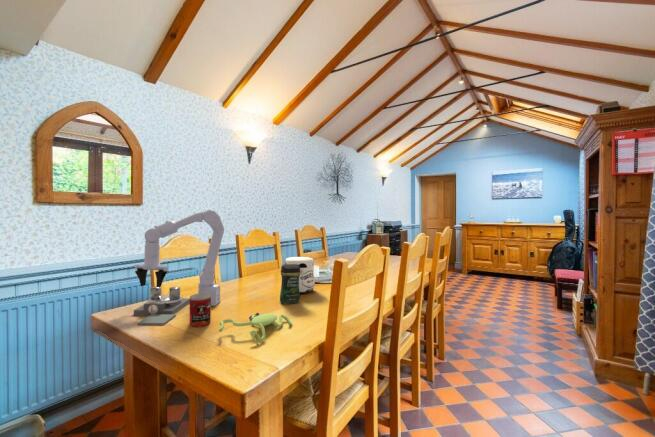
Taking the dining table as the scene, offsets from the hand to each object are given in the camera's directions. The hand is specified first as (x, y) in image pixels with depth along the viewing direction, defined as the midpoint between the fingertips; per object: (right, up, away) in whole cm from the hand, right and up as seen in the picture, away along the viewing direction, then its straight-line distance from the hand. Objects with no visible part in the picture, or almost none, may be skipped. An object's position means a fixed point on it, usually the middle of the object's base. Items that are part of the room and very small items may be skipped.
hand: (151, 286), depth 139 cm
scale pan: (+5, -7, +2) cm, 9 cm away
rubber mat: (+10, -11, -14) cm, 20 cm away
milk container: (+62, -11, +34) cm, 72 cm away
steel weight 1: (+1, -6, +2) cm, 6 cm away
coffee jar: (+60, -11, +14) cm, 62 cm away
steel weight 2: (+9, -6, +2) cm, 11 cm away
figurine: (+52, -12, -22) cm, 58 cm away
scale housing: (+5, -10, +1) cm, 11 cm away
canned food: (+28, -11, -16) cm, 35 cm away
